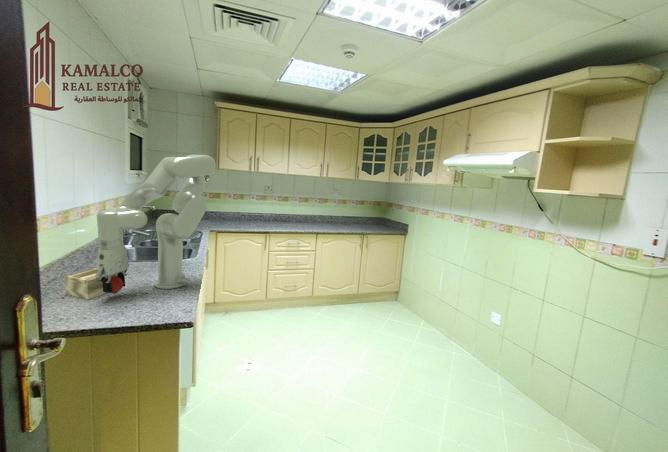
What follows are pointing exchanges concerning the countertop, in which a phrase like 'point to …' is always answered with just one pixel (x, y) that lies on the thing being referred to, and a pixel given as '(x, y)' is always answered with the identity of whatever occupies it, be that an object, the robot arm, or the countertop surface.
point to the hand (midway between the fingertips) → (114, 288)
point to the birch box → (84, 284)
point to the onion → (116, 284)
